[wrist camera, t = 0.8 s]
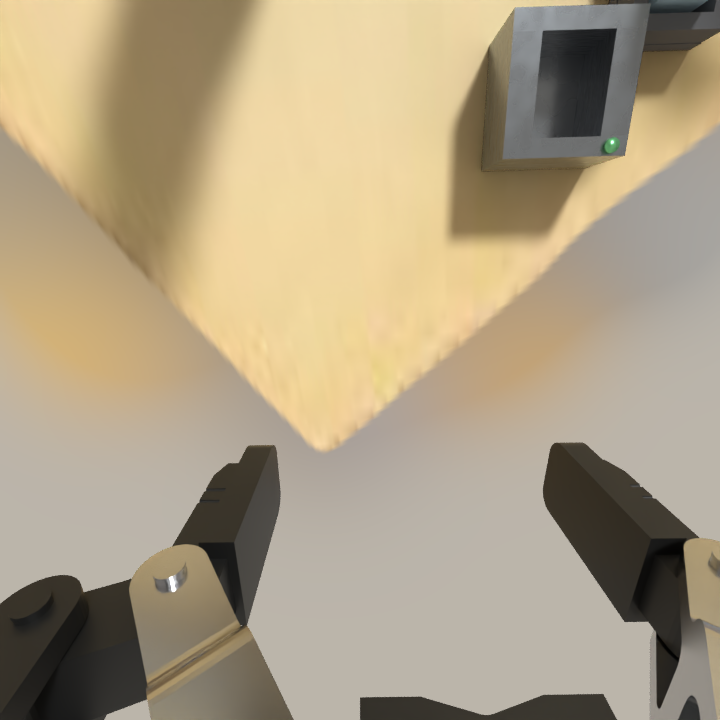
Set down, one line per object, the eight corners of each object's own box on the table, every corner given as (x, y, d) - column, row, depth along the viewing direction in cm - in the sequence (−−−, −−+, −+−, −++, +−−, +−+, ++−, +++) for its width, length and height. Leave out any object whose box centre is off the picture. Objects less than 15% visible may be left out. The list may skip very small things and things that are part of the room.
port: (489, 45, 29) (516, 4, 24) (603, 41, 29) (654, 0, 24) (481, 171, 32) (504, 158, 27) (585, 168, 32) (627, 154, 27)
